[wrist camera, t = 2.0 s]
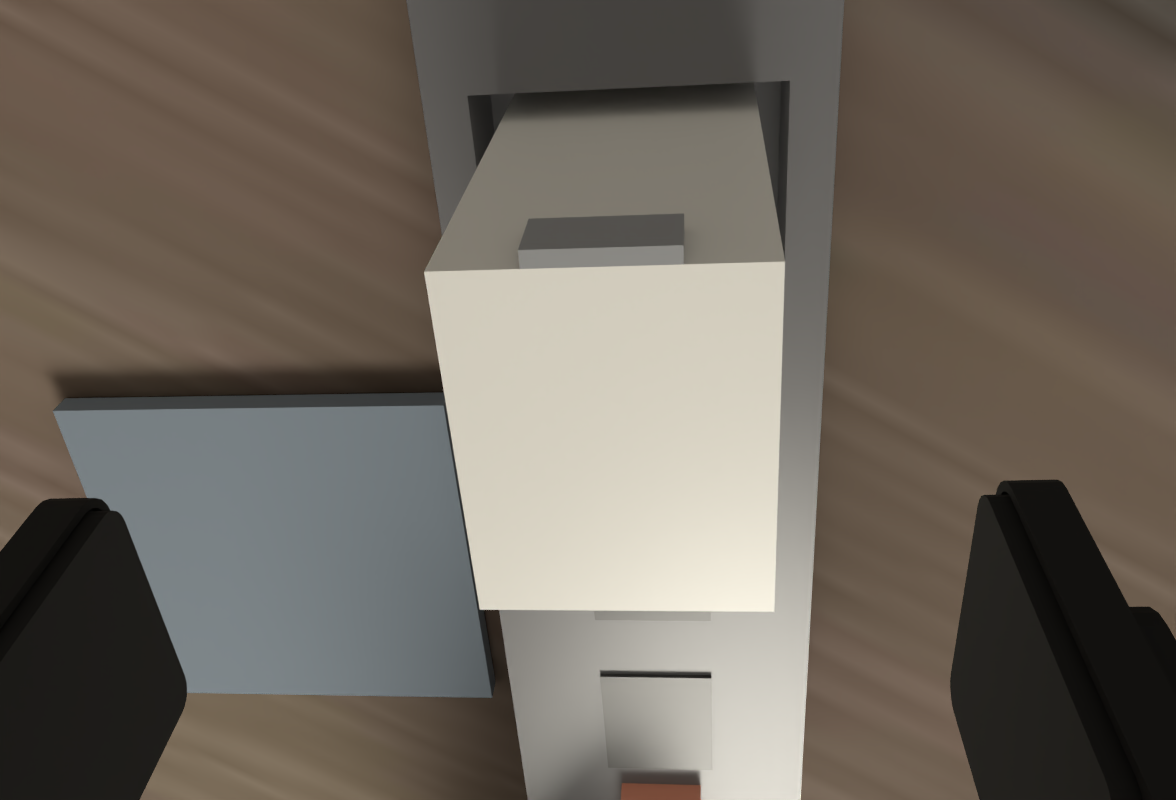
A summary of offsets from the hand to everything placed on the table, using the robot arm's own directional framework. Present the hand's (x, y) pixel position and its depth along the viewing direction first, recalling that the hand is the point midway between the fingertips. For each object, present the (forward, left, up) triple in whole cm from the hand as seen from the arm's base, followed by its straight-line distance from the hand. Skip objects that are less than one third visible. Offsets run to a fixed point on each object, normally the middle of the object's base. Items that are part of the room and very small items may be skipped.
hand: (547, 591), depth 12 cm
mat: (+9, +10, -13) cm, 19 cm away
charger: (-1, 0, -11) cm, 11 cm away
